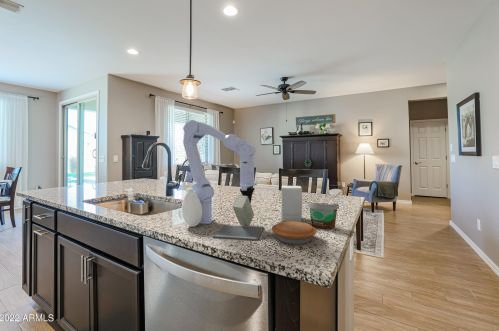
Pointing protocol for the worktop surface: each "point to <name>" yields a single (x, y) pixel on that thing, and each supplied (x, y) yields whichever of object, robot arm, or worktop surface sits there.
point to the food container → (323, 215)
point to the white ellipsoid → (191, 208)
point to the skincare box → (243, 210)
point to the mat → (239, 232)
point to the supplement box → (292, 203)
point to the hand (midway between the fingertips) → (247, 205)
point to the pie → (294, 232)
